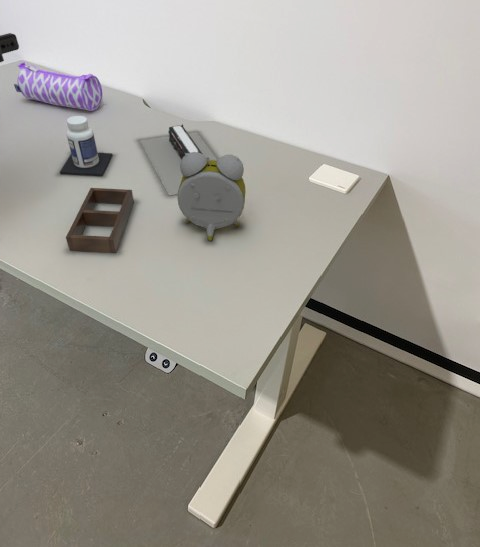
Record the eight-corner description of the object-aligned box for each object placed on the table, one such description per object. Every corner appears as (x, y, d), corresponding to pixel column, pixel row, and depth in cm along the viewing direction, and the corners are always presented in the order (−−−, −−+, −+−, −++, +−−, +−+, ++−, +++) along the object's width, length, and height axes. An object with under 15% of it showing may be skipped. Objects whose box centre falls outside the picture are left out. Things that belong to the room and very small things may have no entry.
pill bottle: (102, 157, 94) (93, 114, 87) (95, 169, 90) (86, 126, 83) (78, 155, 94) (67, 113, 87) (70, 168, 90) (58, 124, 83)
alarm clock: (243, 221, 80) (248, 149, 70) (241, 244, 76) (246, 170, 65) (183, 217, 81) (179, 144, 70) (177, 239, 76) (171, 165, 65)
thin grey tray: (196, 132, 106) (196, 116, 103) (234, 183, 90) (235, 165, 87) (140, 140, 102) (137, 123, 99) (169, 195, 86) (167, 177, 83)
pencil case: (18, 103, 113) (6, 66, 107) (40, 91, 120) (30, 55, 113) (90, 117, 109) (82, 80, 103) (109, 104, 116) (102, 68, 109)
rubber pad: (60, 174, 89) (59, 171, 89) (73, 153, 96) (72, 151, 95) (102, 176, 90) (102, 174, 89) (112, 155, 96) (112, 153, 96)
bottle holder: (69, 250, 72) (65, 237, 70) (93, 200, 83) (90, 187, 81) (116, 253, 72) (113, 239, 70) (133, 202, 83) (131, 189, 81)
